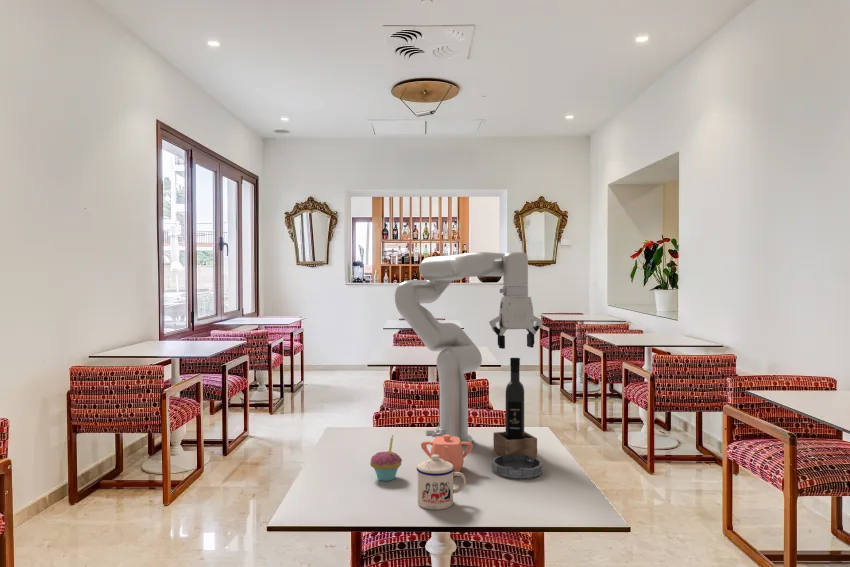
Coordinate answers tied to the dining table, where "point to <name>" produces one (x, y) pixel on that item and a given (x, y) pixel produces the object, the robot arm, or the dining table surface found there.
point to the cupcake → (386, 464)
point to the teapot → (448, 450)
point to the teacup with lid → (437, 483)
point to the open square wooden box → (515, 445)
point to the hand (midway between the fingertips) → (516, 347)
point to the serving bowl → (517, 466)
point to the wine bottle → (514, 403)
